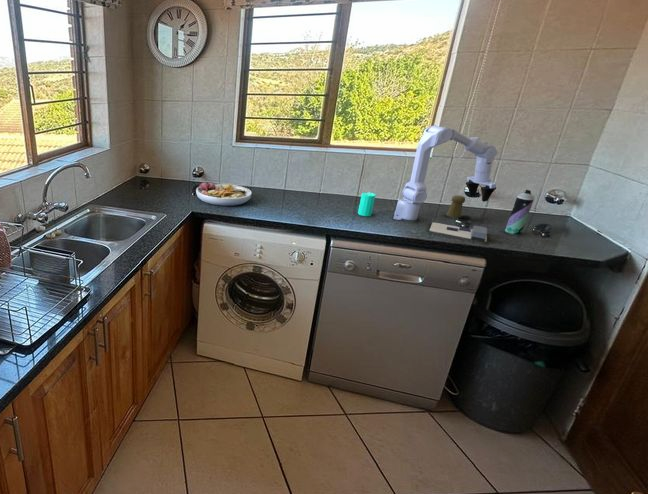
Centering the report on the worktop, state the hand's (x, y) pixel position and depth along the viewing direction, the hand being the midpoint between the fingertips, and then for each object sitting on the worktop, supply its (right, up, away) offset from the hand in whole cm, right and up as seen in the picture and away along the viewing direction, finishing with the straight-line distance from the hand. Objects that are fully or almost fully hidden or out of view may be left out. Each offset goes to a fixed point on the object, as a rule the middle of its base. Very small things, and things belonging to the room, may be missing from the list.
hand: (478, 198), depth 191 cm
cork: (-7, -9, +7) cm, 13 cm away
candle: (-49, -7, +10) cm, 50 cm away
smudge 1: (-22, -15, -12) cm, 29 cm away
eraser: (-17, -18, -20) cm, 32 cm away
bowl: (-116, +2, +32) cm, 120 cm away
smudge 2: (-16, -15, -12) cm, 25 cm away
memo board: (-20, -16, -13) cm, 29 cm away
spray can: (+4, -17, -13) cm, 22 cm away
